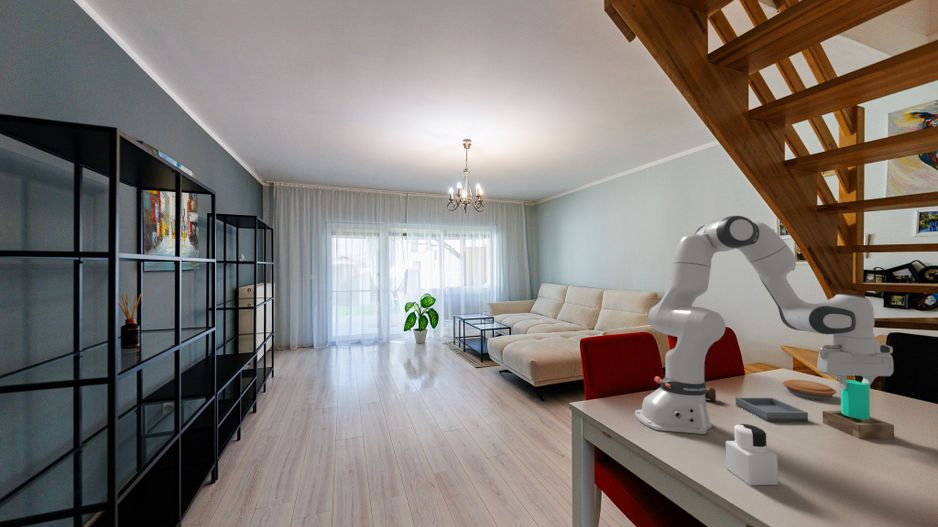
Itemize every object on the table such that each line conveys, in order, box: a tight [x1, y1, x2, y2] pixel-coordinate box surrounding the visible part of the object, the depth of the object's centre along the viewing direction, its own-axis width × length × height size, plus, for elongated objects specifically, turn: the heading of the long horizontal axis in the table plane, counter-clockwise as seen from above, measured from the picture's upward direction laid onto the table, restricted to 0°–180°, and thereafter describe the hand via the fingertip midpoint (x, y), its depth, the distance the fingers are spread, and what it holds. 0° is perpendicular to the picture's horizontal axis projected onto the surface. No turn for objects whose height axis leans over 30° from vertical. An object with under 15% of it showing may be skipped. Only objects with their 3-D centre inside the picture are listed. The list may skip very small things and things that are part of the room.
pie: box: [782, 379, 837, 401], centre depth 138 cm, size 15×16×5 cm
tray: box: [735, 397, 809, 423], centre depth 120 cm, size 14×14×3 cm
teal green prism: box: [840, 376, 871, 420], centre depth 107 cm, size 6×6×12 cm
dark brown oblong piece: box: [705, 387, 717, 403], centre depth 136 cm, size 6×5×15 cm
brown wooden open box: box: [822, 410, 895, 440], centre depth 107 cm, size 10×10×4 cm
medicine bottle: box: [725, 423, 779, 486], centre depth 83 cm, size 7×7×12 cm
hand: (854, 389), depth 107 cm, fingers closed on teal green prism, 5 cm apart
